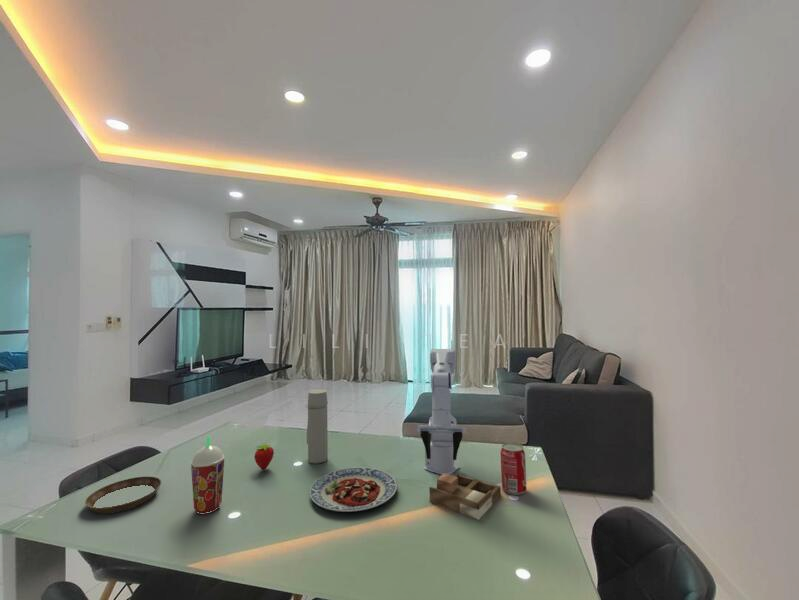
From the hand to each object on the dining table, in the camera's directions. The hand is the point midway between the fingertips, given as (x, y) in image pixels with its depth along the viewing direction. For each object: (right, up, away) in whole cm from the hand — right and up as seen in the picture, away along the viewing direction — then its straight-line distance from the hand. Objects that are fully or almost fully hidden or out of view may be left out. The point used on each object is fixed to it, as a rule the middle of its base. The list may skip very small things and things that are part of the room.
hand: (441, 459), depth 105 cm
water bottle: (-43, -12, +26) cm, 52 cm away
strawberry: (-59, -12, +18) cm, 63 cm away
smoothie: (-66, -12, -6) cm, 67 cm away
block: (+2, -8, -1) cm, 8 cm away
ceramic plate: (-26, -11, +2) cm, 28 cm away
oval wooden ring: (-93, -12, 0) cm, 94 cm away
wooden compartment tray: (+7, -10, -2) cm, 13 cm away
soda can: (+22, -11, +2) cm, 25 cm away
